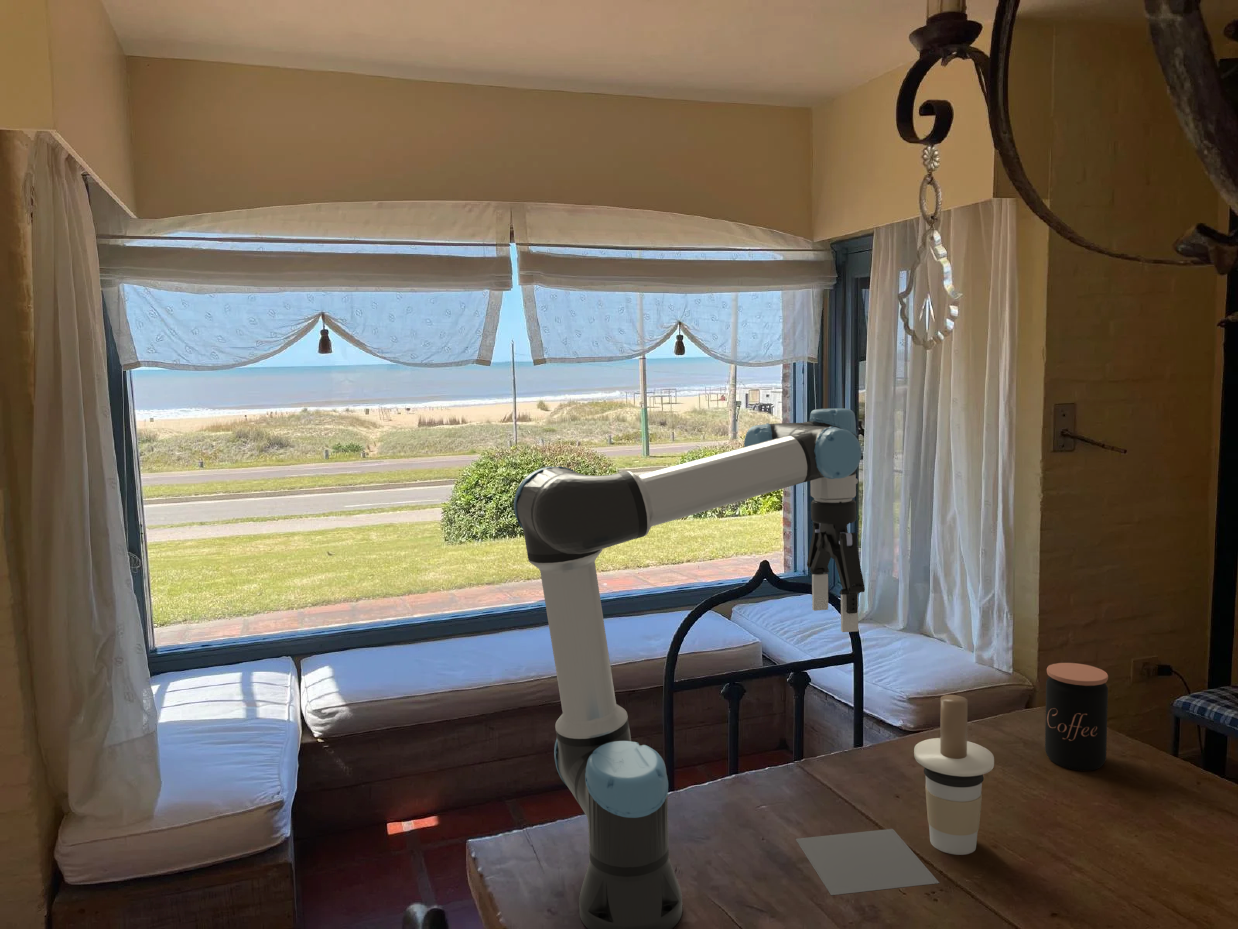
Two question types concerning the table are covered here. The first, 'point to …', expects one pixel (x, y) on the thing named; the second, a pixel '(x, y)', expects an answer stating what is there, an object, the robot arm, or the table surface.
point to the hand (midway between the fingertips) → (834, 620)
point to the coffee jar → (1076, 716)
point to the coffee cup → (953, 811)
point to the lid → (954, 744)
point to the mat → (865, 862)
